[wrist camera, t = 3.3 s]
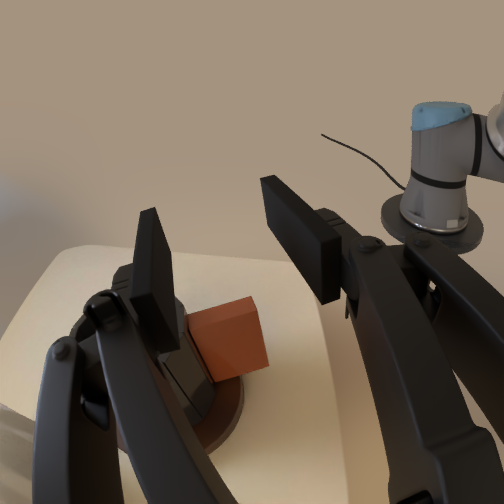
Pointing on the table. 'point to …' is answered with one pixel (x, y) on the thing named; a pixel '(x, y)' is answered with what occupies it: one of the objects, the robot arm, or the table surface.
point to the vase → (15, 457)
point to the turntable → (215, 415)
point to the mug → (206, 351)
